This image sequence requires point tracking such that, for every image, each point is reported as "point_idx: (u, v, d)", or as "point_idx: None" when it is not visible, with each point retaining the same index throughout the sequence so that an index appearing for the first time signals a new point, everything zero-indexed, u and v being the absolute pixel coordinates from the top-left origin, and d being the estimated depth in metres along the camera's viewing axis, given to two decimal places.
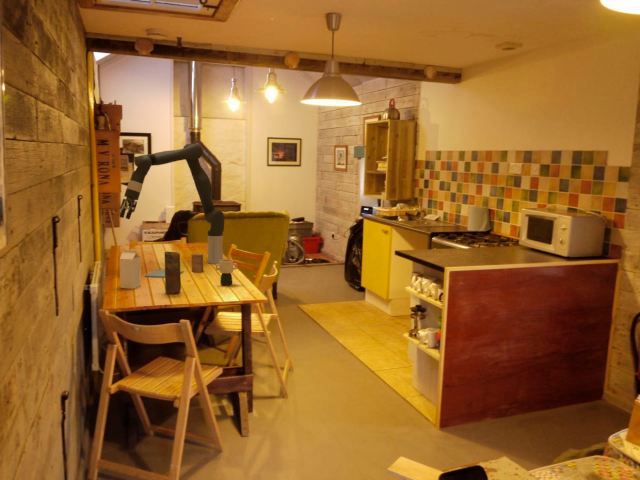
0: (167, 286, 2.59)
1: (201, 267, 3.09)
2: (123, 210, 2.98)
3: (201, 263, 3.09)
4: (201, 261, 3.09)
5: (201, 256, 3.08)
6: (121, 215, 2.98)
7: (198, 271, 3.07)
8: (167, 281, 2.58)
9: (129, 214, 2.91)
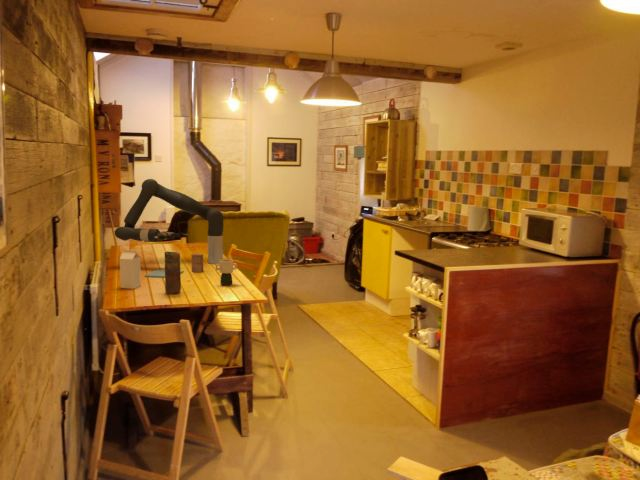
0: (167, 286, 2.59)
1: (201, 267, 3.09)
2: (172, 235, 3.13)
3: (201, 263, 3.09)
4: (201, 261, 3.09)
5: (201, 256, 3.08)
6: (177, 235, 3.13)
7: (198, 271, 3.07)
8: (167, 281, 2.58)
9: (168, 237, 3.04)
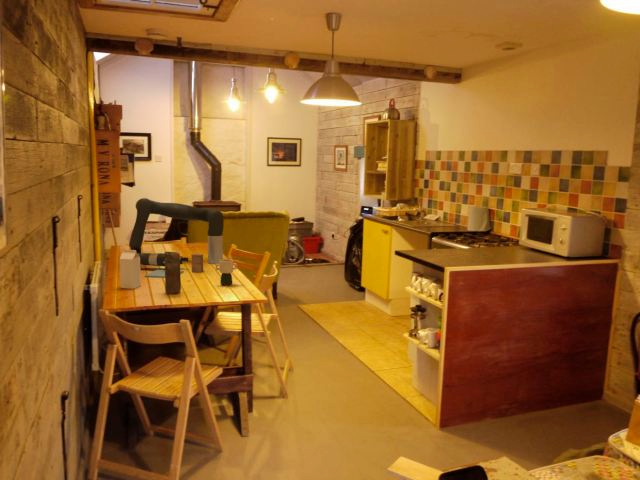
0: (167, 286, 2.59)
1: (201, 267, 3.09)
2: (181, 259, 3.15)
3: (201, 263, 3.09)
4: (201, 261, 3.09)
5: (201, 256, 3.08)
6: (186, 260, 3.14)
7: (198, 271, 3.07)
8: (167, 281, 2.58)
9: None
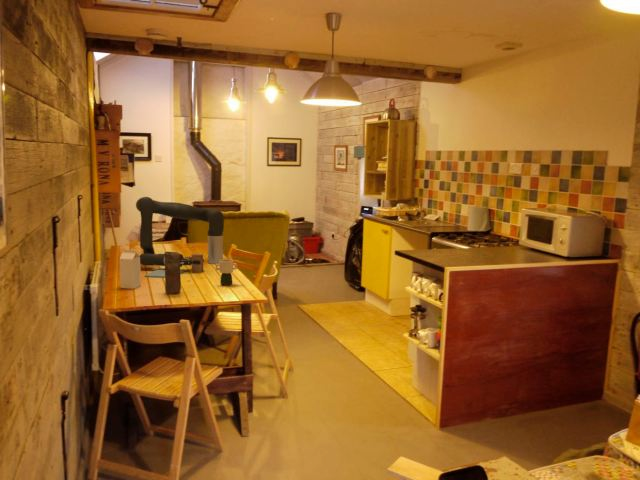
0: (167, 286, 2.59)
1: (201, 267, 3.09)
2: None
3: (201, 263, 3.09)
4: (201, 261, 3.09)
5: (201, 256, 3.08)
6: None
7: (198, 271, 3.07)
8: (167, 281, 2.58)
9: (195, 262, 3.05)
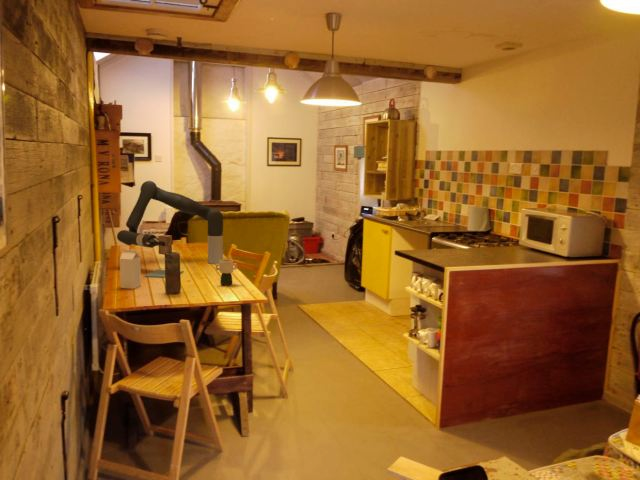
0: (167, 286, 2.59)
1: (168, 249, 2.98)
2: None
3: (168, 245, 2.97)
4: (168, 243, 2.97)
5: (168, 238, 2.97)
6: None
7: (163, 253, 2.97)
8: (167, 281, 2.58)
9: (160, 244, 2.95)
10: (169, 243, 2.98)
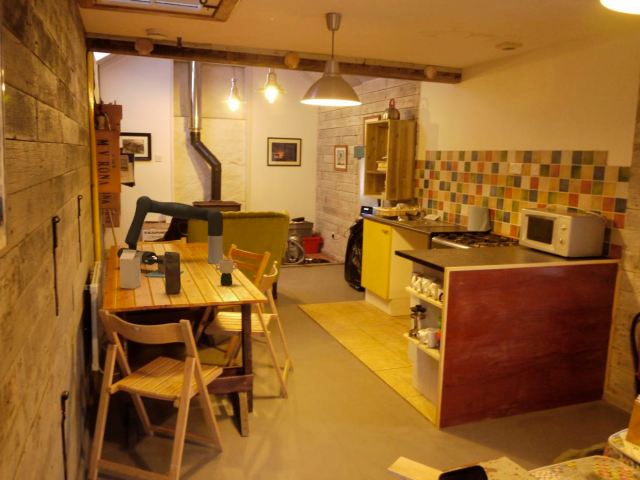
0: (167, 286, 2.59)
1: None
2: None
3: None
4: None
5: None
6: None
7: (163, 272, 2.98)
8: (167, 281, 2.58)
9: (157, 261, 2.96)
10: None
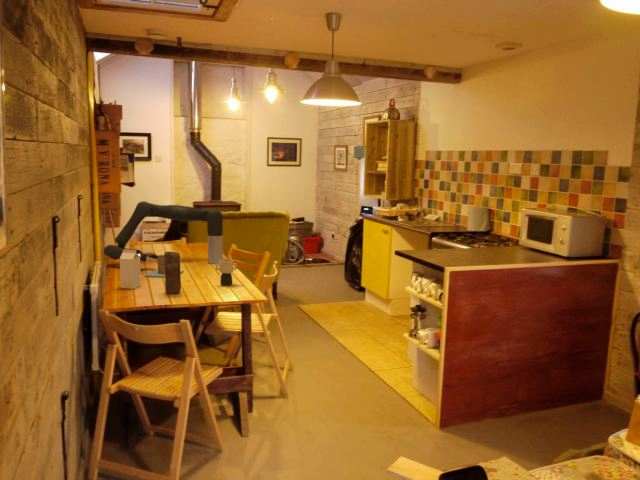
0: (167, 286, 2.59)
1: None
2: (152, 256, 3.11)
3: None
4: None
5: None
6: (155, 257, 3.09)
7: (163, 272, 2.98)
8: (167, 281, 2.58)
9: (141, 259, 3.02)
10: None
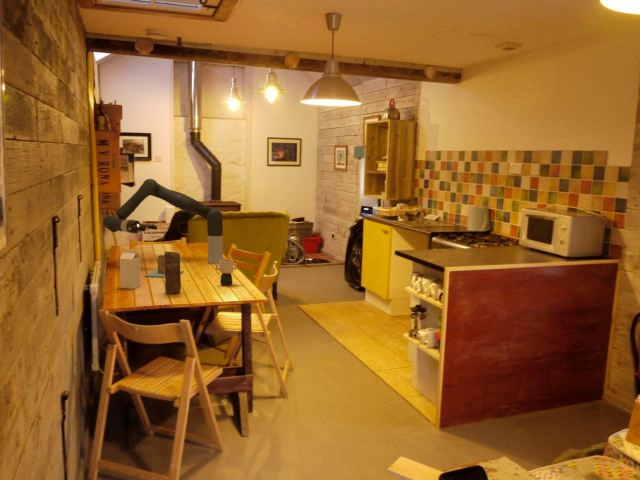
0: (167, 286, 2.59)
1: None
2: (151, 227, 3.08)
3: None
4: None
5: None
6: (154, 228, 3.07)
7: (163, 272, 2.98)
8: (167, 281, 2.58)
9: (140, 229, 2.99)
10: None
